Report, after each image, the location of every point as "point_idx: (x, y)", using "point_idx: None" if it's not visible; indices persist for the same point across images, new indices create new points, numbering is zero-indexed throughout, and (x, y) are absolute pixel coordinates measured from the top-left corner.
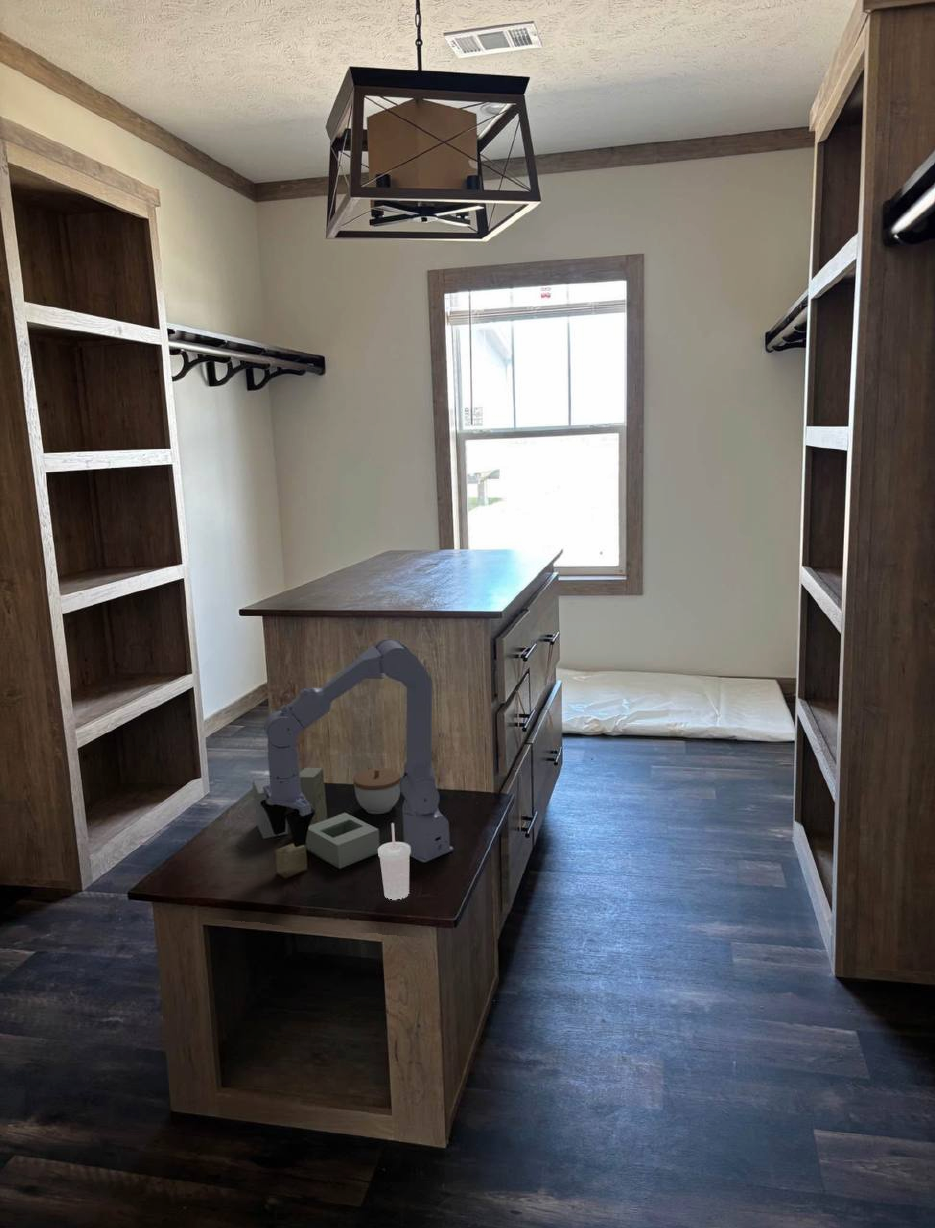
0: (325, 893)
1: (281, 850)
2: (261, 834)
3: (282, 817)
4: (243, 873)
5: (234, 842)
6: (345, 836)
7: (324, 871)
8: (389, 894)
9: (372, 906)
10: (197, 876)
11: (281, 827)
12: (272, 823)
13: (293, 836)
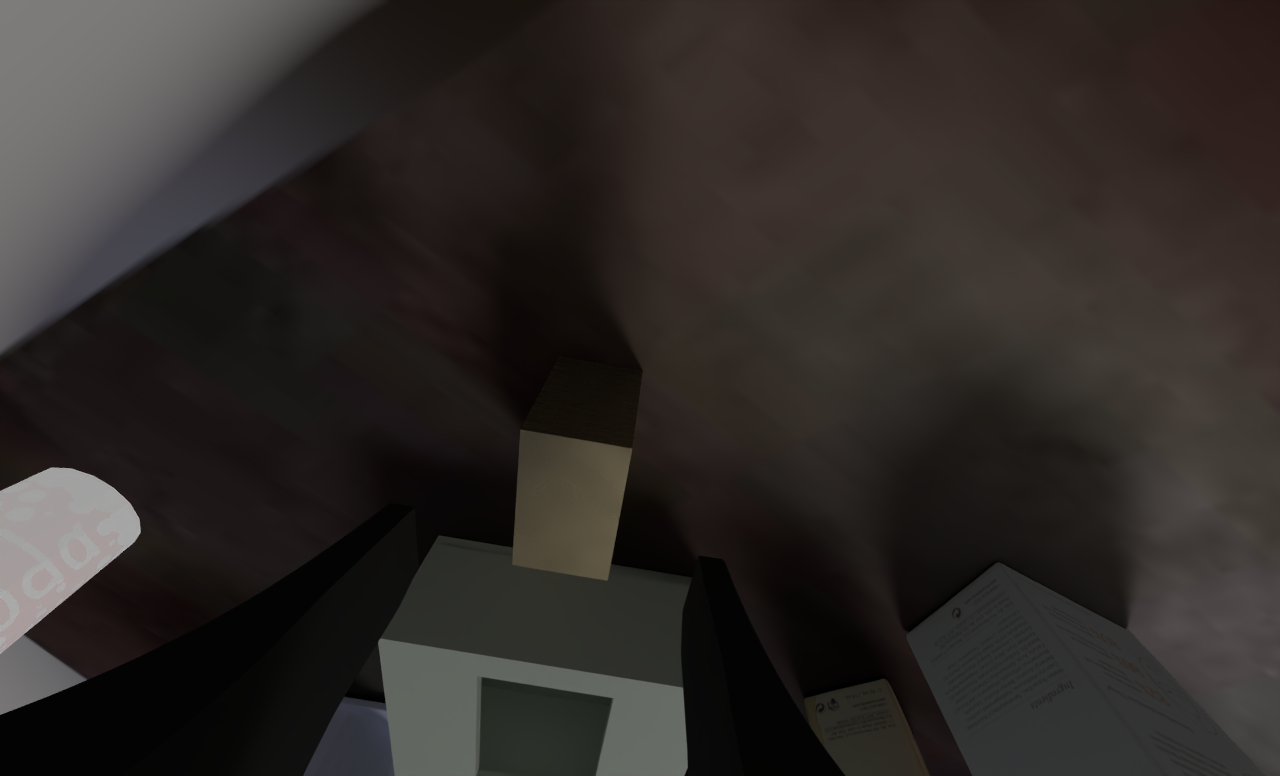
0: (268, 361)
1: (586, 462)
2: (1033, 583)
3: (694, 734)
4: (820, 260)
5: (1147, 474)
6: (442, 705)
7: (470, 494)
8: (22, 481)
9: (27, 394)
10: (1128, 19)
11: (688, 634)
12: (718, 640)
13: (316, 565)
